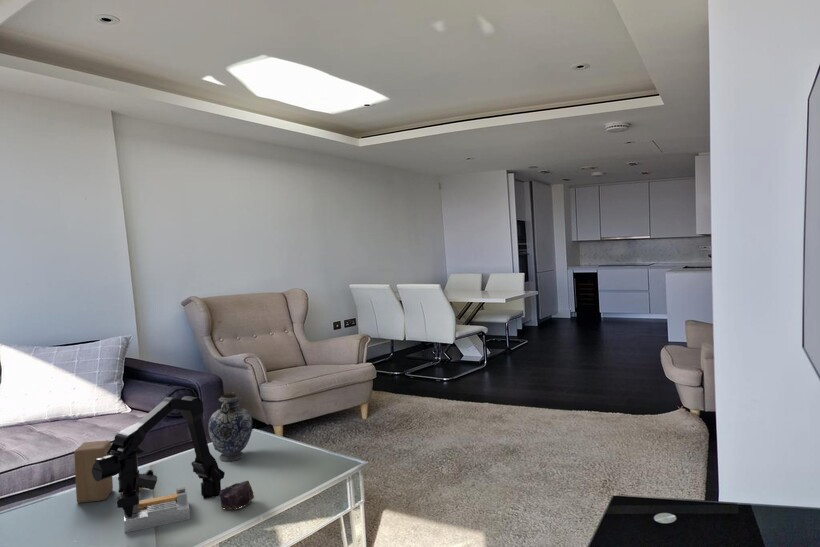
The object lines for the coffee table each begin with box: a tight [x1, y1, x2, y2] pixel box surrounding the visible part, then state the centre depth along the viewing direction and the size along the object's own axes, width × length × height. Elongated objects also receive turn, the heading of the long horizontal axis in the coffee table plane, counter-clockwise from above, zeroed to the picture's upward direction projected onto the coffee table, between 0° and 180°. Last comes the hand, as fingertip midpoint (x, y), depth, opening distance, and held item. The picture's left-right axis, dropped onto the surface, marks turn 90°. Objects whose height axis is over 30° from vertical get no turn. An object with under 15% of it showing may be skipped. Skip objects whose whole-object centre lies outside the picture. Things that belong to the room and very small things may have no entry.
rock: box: [219, 480, 255, 510], centre depth 200 cm, size 12×9×10 cm
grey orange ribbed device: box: [123, 487, 191, 534], centre depth 194 cm, size 20×14×7 cm
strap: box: [138, 492, 182, 507], centre depth 195 cm, size 19×3×1 cm, turn 115°
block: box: [73, 440, 114, 504], centre depth 211 cm, size 10×10×20 cm
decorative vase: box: [208, 391, 253, 463], centre depth 248 cm, size 21×19×28 cm
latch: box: [123, 504, 138, 516], centre depth 190 cm, size 4×6×3 cm, turn 25°
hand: (129, 516), depth 183 cm, fingers closed
